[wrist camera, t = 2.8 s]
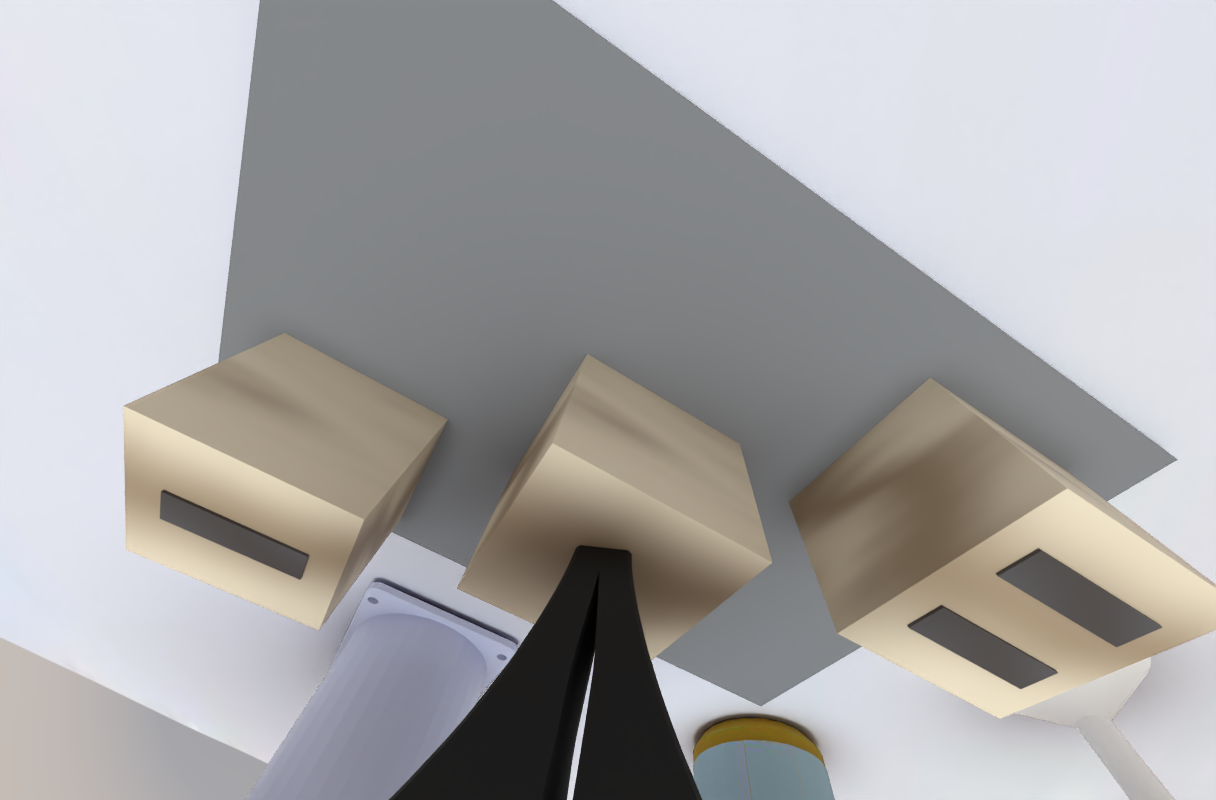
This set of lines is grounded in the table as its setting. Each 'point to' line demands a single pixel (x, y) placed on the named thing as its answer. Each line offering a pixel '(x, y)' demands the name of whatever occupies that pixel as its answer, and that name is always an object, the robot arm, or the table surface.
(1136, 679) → the champagne flute
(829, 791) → the bottle
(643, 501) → the plain birch block
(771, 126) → the table surface
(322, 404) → the one-bar birch block
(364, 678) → the robot arm
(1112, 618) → the two-bar birch block
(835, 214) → the charcoal rubber mat
